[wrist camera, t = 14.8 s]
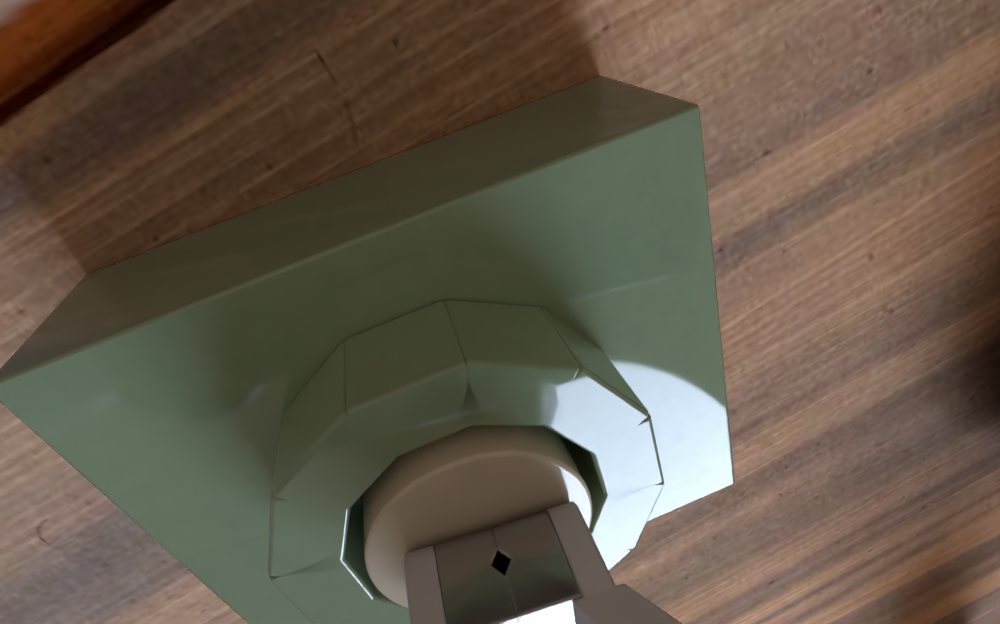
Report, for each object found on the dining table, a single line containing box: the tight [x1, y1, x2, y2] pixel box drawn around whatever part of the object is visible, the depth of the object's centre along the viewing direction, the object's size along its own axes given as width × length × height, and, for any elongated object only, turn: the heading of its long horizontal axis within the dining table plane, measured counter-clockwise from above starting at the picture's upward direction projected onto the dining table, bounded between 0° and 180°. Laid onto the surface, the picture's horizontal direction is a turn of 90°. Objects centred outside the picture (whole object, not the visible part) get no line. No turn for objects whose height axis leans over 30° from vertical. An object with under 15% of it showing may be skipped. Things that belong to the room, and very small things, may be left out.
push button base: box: [0, 76, 735, 624], centre depth 12 cm, size 12×10×6 cm
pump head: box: [361, 426, 592, 608], centre depth 10 cm, size 4×4×2 cm
